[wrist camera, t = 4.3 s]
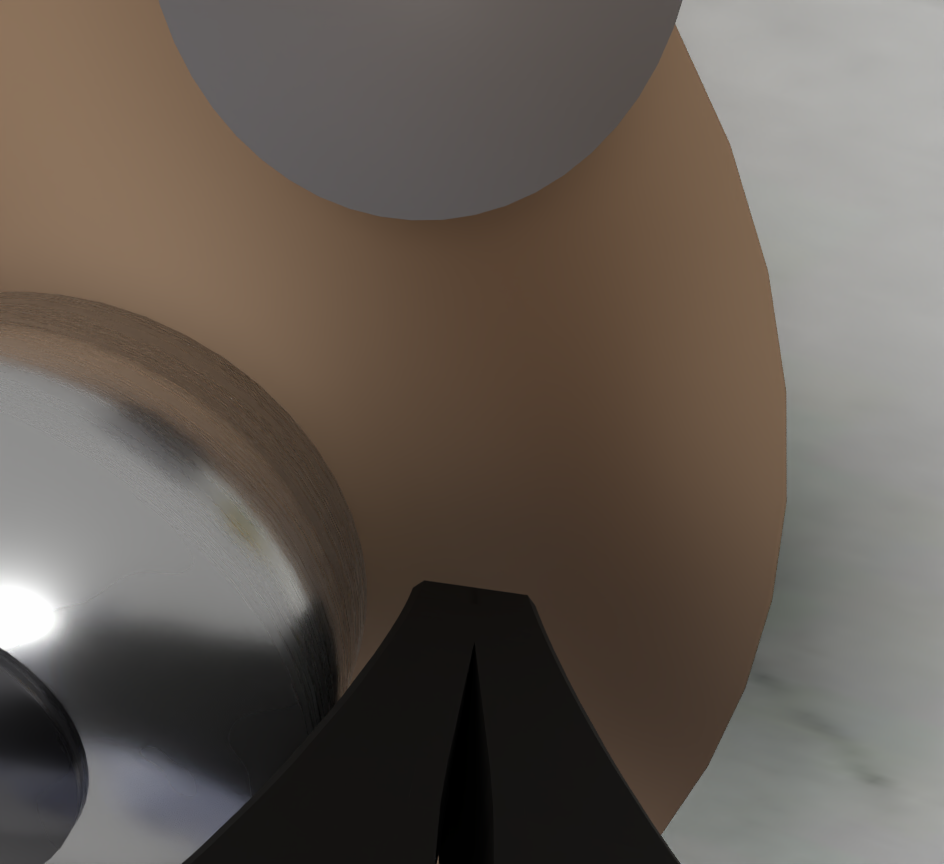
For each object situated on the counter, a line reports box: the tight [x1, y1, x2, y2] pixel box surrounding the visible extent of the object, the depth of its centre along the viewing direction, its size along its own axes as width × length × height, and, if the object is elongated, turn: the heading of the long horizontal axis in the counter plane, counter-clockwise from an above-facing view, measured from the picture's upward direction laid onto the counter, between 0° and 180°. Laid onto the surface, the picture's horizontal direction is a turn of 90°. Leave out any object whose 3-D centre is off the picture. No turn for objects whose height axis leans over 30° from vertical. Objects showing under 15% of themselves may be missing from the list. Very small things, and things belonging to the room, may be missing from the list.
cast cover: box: [0, 292, 367, 864], centre depth 8 cm, size 7×7×3 cm
